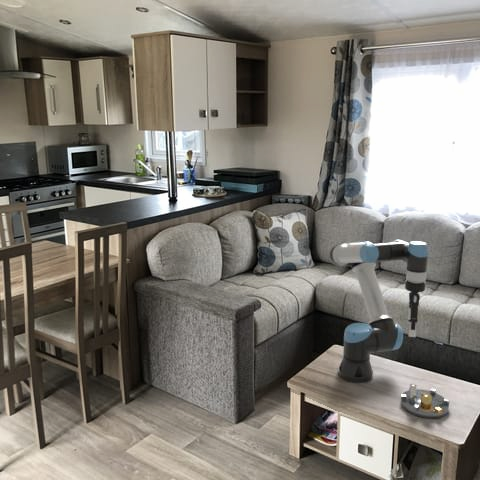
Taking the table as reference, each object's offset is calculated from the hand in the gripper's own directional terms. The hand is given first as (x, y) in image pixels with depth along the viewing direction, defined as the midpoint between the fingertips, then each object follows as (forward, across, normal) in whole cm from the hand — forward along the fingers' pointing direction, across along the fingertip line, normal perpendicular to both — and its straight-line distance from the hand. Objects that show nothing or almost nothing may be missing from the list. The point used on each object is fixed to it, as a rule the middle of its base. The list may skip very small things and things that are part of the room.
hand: (411, 329), depth 206 cm
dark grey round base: (+29, +8, +7) cm, 31 cm away
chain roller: (+26, +13, +7) cm, 30 cm away
